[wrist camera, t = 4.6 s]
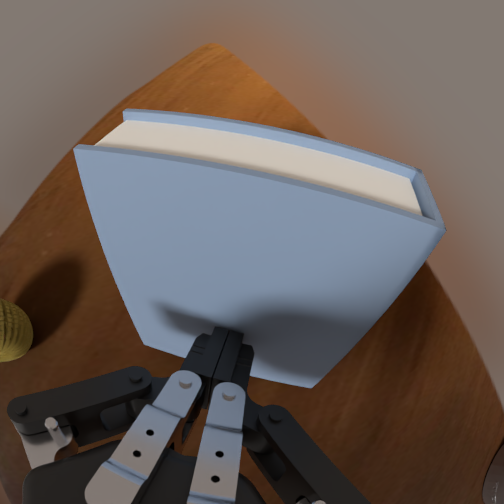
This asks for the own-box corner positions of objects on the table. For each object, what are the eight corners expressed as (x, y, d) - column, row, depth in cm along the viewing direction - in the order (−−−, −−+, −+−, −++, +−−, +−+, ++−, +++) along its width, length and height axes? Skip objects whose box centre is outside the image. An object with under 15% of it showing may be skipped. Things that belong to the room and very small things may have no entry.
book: (161, 304, 22) (126, 108, 10) (317, 344, 21) (421, 170, 10) (144, 344, 19) (73, 148, 8) (311, 388, 18) (446, 230, 7)
